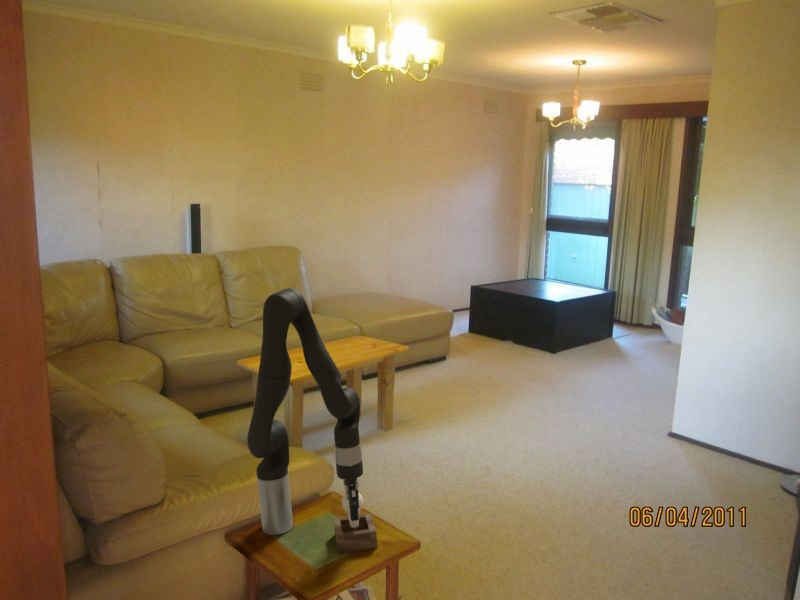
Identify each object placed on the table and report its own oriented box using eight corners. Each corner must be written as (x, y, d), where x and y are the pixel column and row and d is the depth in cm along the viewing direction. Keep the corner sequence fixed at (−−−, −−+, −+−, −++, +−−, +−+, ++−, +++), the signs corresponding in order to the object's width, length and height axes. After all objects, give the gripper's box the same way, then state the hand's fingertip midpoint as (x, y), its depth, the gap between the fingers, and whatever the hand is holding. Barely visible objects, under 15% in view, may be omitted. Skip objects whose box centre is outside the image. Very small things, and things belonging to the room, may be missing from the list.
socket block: (334, 534, 191) (333, 518, 191) (371, 528, 193) (370, 513, 193) (338, 554, 181) (337, 537, 180) (377, 547, 183) (376, 531, 182)
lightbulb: (354, 520, 191) (351, 485, 189) (369, 526, 187) (366, 490, 185) (339, 529, 186) (336, 493, 184) (355, 535, 182) (351, 498, 180)
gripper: (333, 451, 189) (338, 505, 192) (338, 471, 175) (343, 529, 178) (358, 448, 191) (363, 501, 193) (365, 467, 177) (370, 524, 179)
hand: (353, 514), depth 186 cm, fingers closed on lightbulb, 6 cm apart
